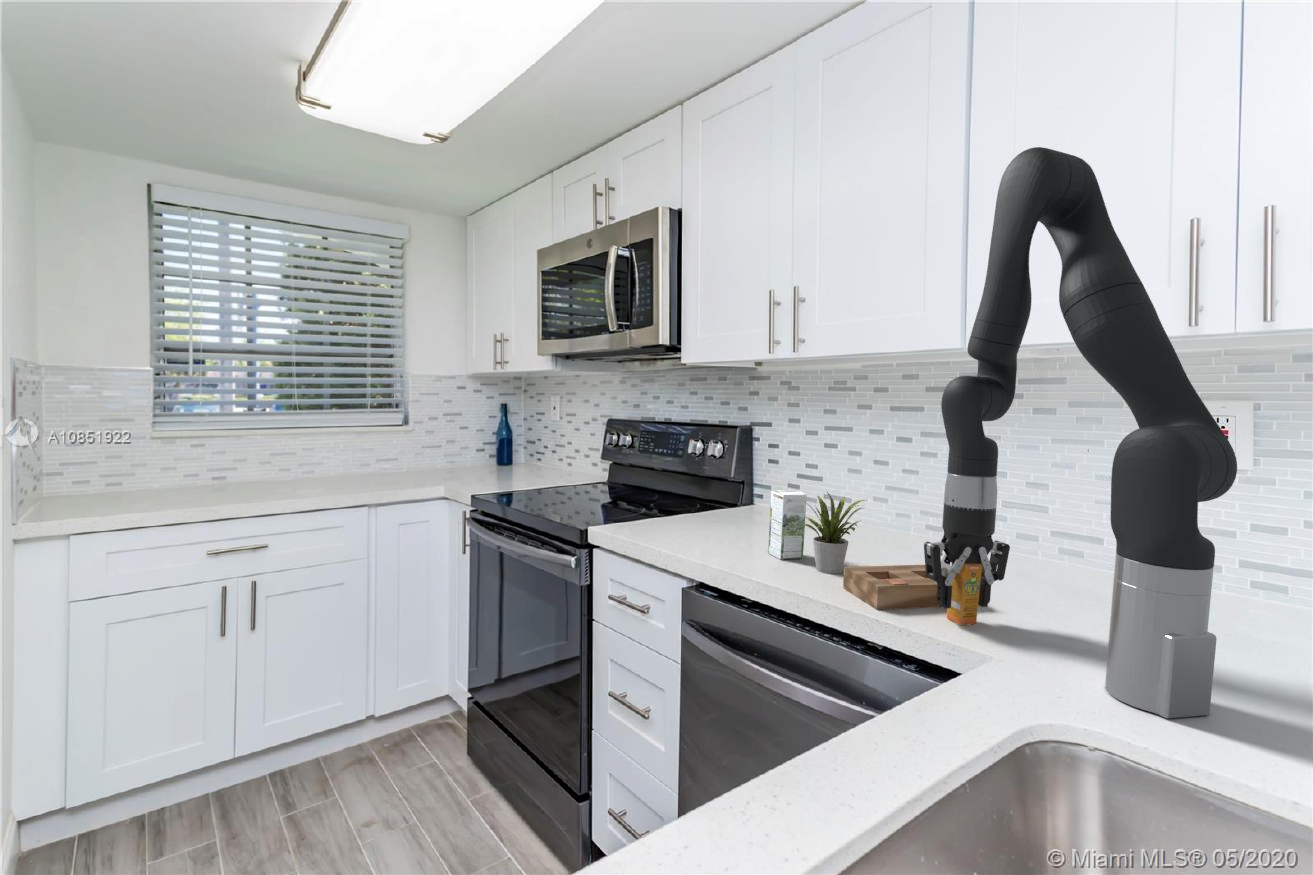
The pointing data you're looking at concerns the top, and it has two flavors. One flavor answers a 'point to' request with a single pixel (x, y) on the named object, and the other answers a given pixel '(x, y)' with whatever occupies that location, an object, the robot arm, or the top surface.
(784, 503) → the syrup box
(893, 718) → the top surface
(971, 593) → the supplement box
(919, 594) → the socket board
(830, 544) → the house plant
